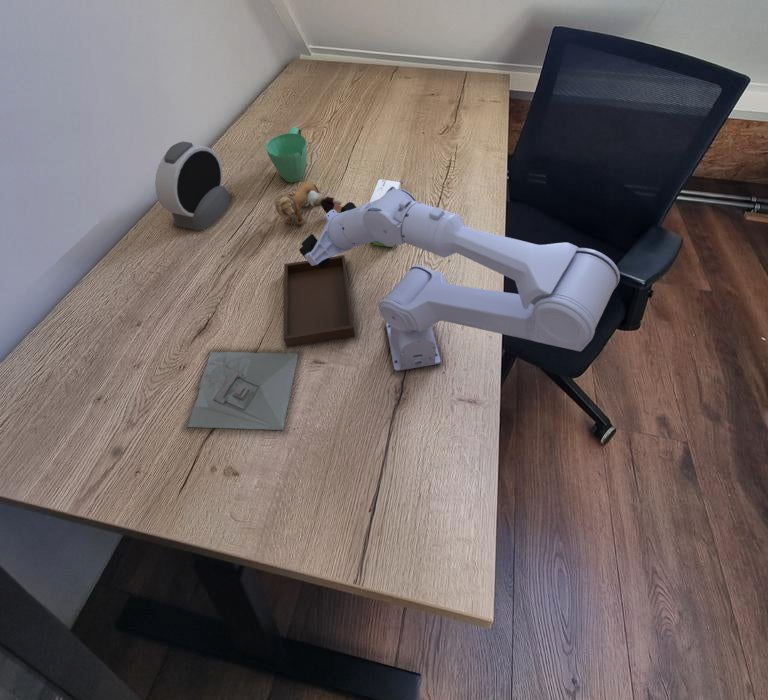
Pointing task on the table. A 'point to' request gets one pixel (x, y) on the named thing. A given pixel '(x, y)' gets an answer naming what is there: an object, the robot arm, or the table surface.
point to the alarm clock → (191, 185)
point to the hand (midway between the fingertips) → (318, 240)
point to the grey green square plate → (244, 391)
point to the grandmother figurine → (325, 202)
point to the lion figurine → (295, 202)
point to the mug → (288, 154)
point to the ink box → (379, 192)
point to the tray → (316, 303)
